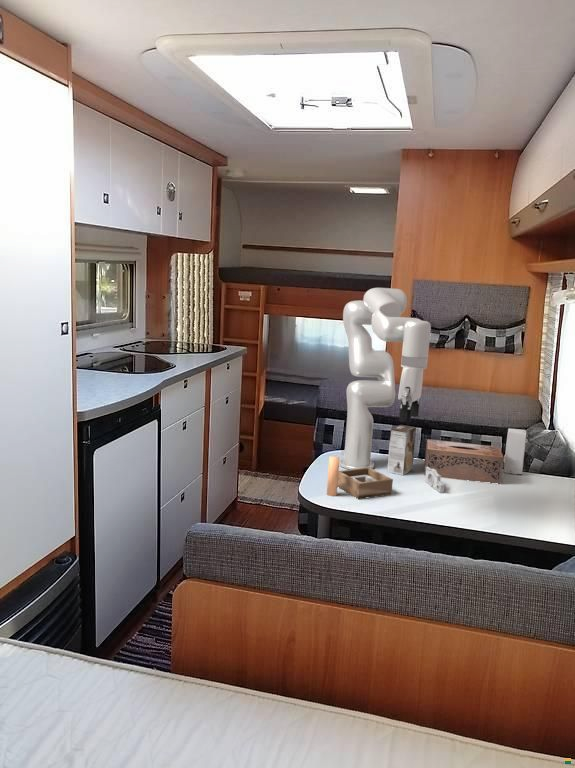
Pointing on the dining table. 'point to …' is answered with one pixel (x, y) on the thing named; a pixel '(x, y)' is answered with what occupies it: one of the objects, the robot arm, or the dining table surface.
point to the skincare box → (515, 451)
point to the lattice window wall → (434, 479)
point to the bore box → (364, 483)
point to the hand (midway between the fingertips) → (408, 418)
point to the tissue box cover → (464, 461)
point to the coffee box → (401, 449)
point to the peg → (333, 475)
